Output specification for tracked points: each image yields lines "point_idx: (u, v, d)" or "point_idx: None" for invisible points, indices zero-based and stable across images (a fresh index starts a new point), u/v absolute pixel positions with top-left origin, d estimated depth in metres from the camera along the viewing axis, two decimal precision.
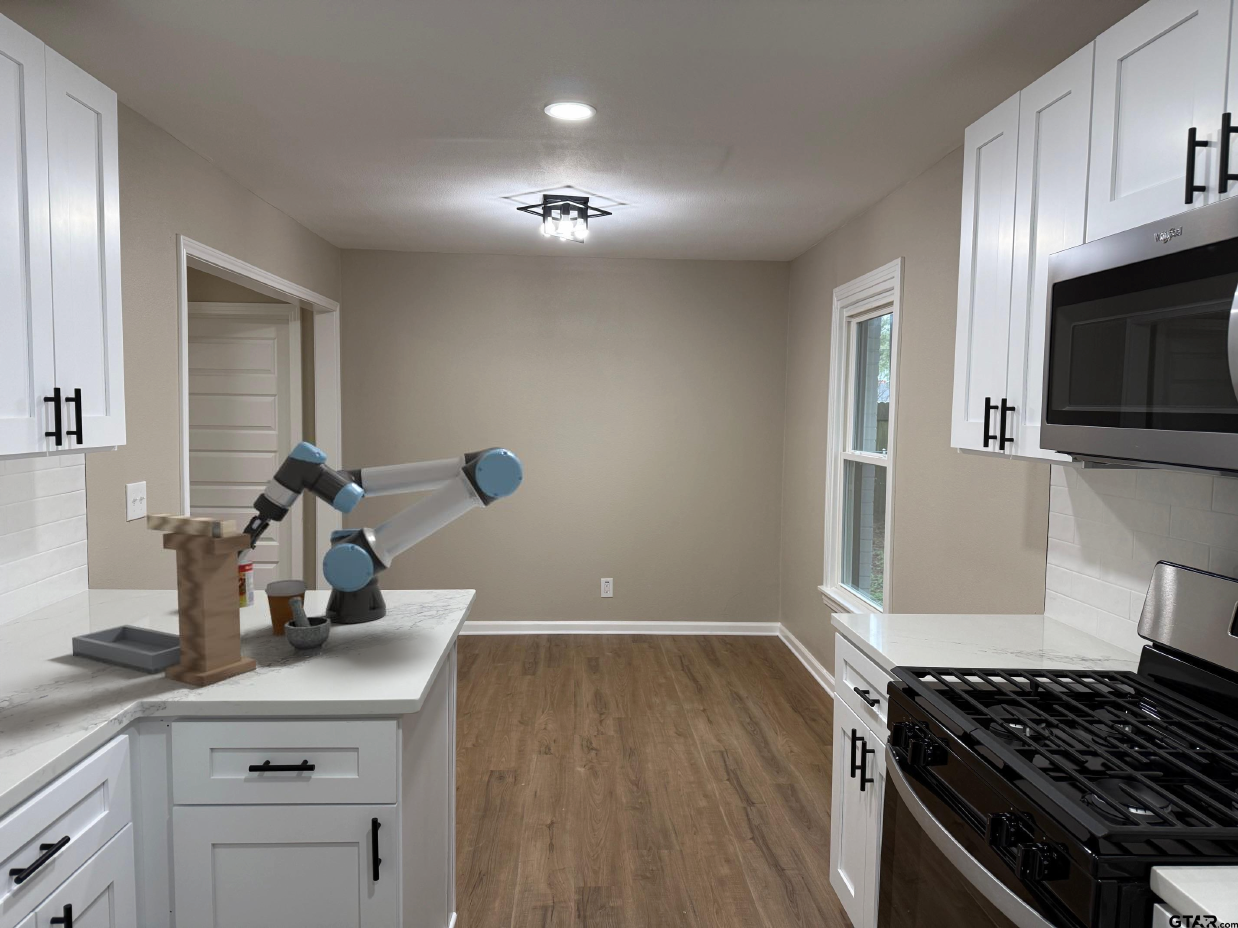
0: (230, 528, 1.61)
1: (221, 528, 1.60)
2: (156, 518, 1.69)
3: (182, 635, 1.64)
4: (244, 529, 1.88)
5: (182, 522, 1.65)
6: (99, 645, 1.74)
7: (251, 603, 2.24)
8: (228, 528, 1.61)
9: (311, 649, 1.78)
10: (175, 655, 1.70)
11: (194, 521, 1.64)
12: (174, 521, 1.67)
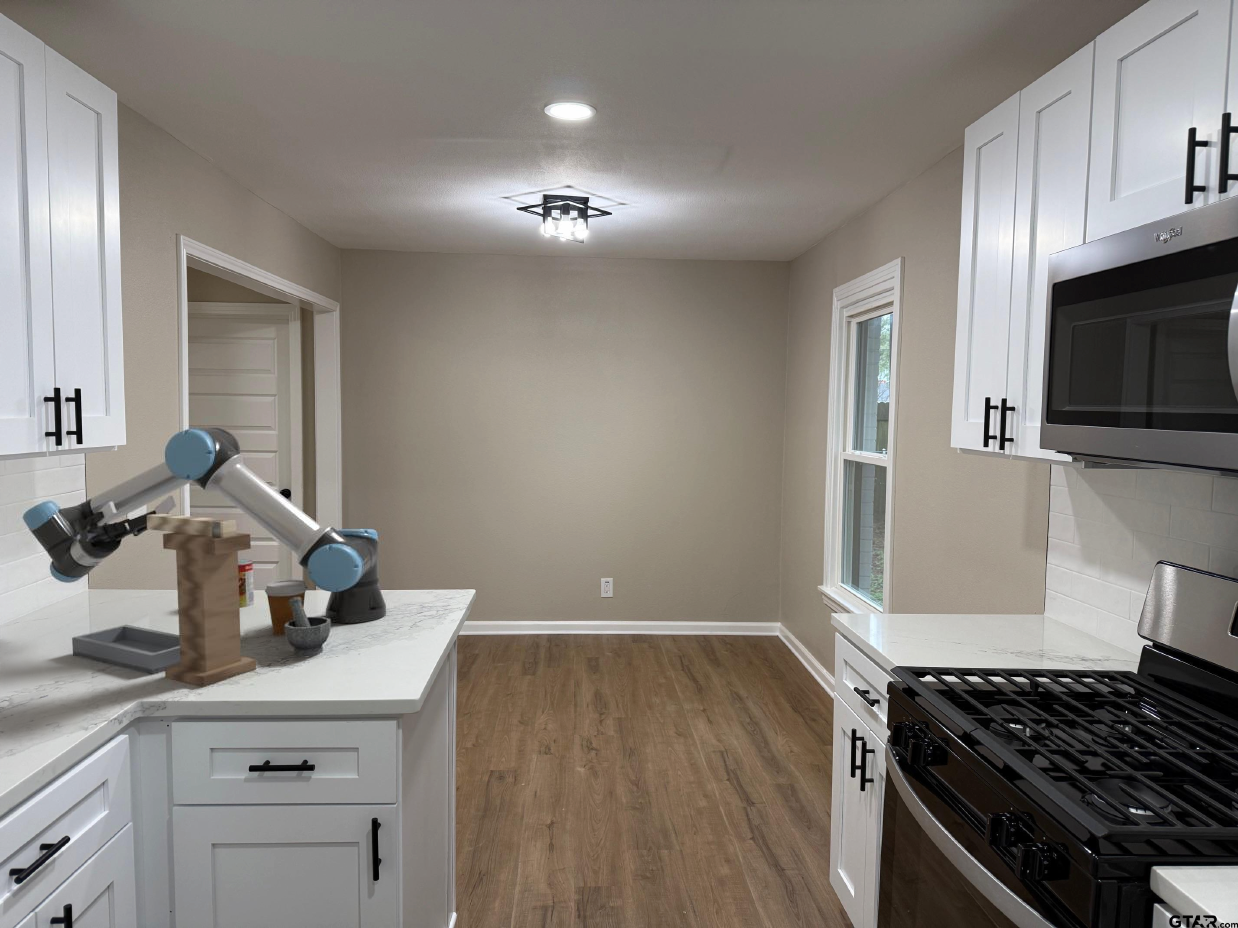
0: (230, 528, 1.61)
1: (221, 528, 1.60)
2: (156, 518, 1.69)
3: (182, 635, 1.64)
4: (100, 536, 1.82)
5: (182, 522, 1.65)
6: (99, 645, 1.74)
7: (251, 603, 2.24)
8: (228, 528, 1.61)
9: (311, 649, 1.78)
10: (175, 655, 1.70)
11: (194, 521, 1.64)
12: (174, 521, 1.67)
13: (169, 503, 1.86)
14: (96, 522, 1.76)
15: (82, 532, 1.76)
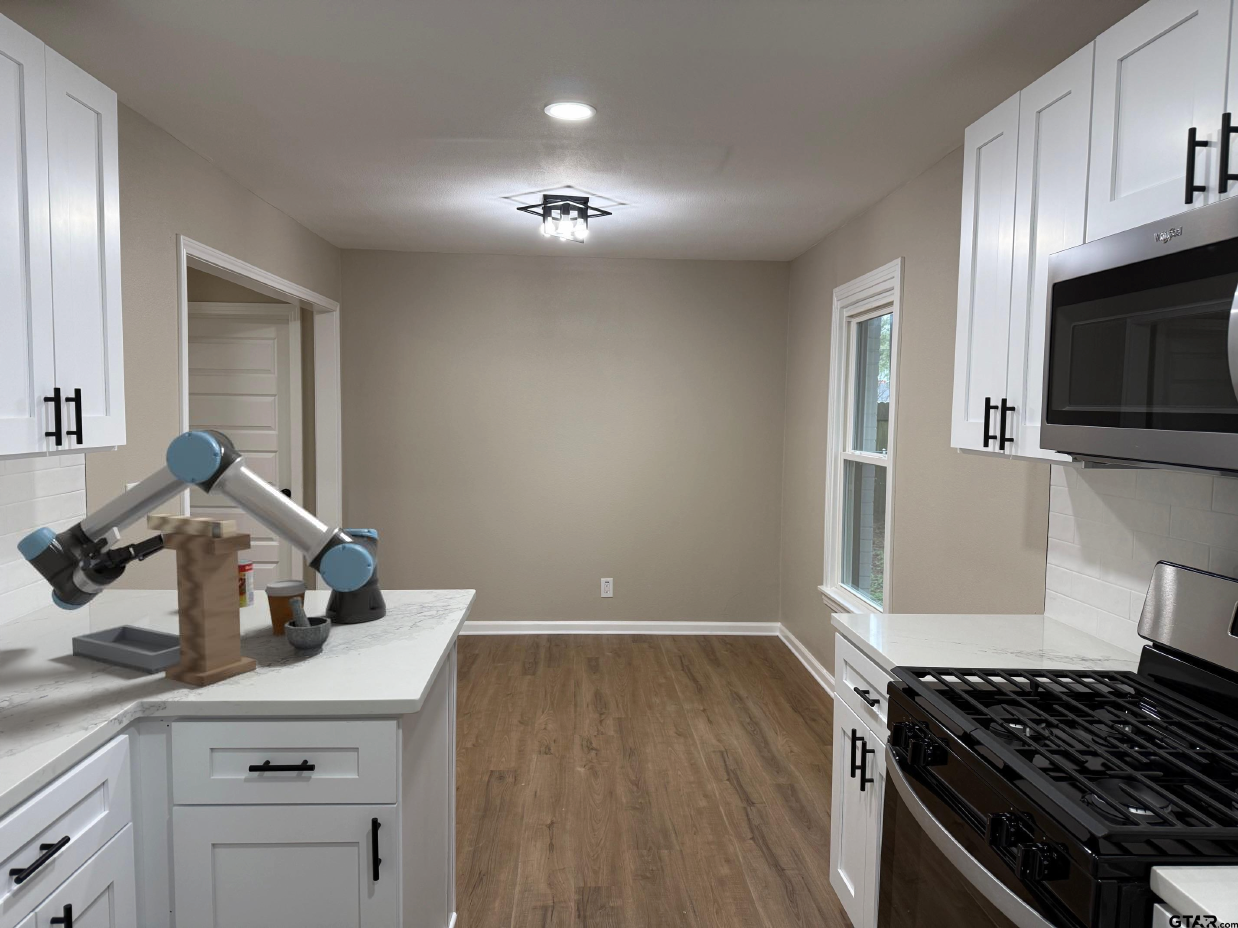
0: (230, 528, 1.61)
1: (221, 528, 1.60)
2: (156, 518, 1.69)
3: (182, 635, 1.64)
4: (104, 563, 1.74)
5: (182, 522, 1.65)
6: (99, 645, 1.74)
7: (251, 603, 2.24)
8: (228, 528, 1.61)
9: (311, 649, 1.78)
10: (175, 655, 1.70)
11: (194, 521, 1.64)
12: (174, 521, 1.67)
13: None
14: (99, 549, 1.68)
15: (85, 559, 1.68)
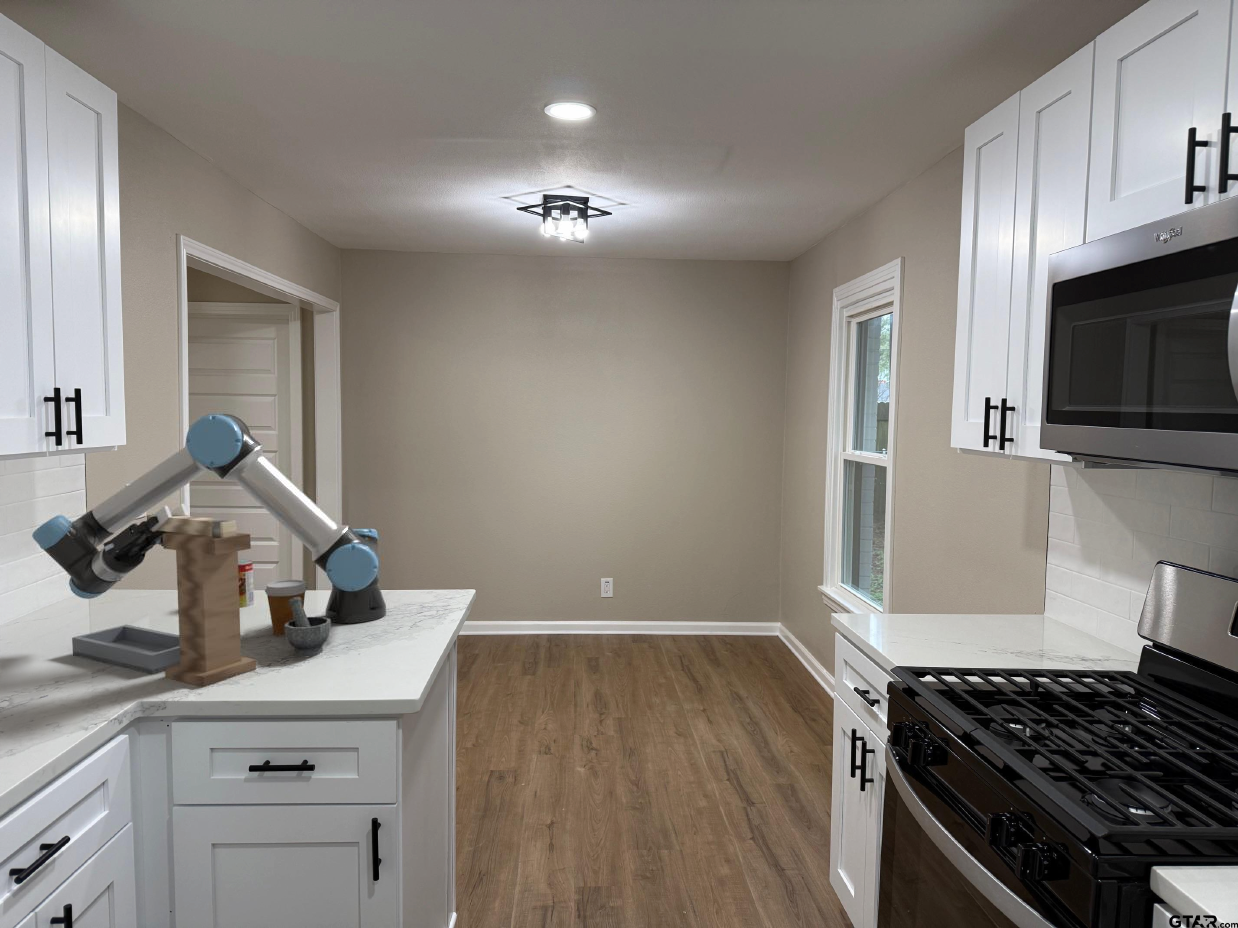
0: (230, 528, 1.61)
1: (221, 528, 1.60)
2: None
3: (182, 635, 1.64)
4: (134, 546, 1.72)
5: (182, 522, 1.65)
6: (99, 645, 1.74)
7: (251, 603, 2.24)
8: (228, 528, 1.61)
9: (311, 649, 1.78)
10: (175, 655, 1.70)
11: (194, 521, 1.64)
12: (174, 521, 1.67)
13: (181, 512, 1.70)
14: (150, 527, 1.68)
15: (131, 538, 1.68)
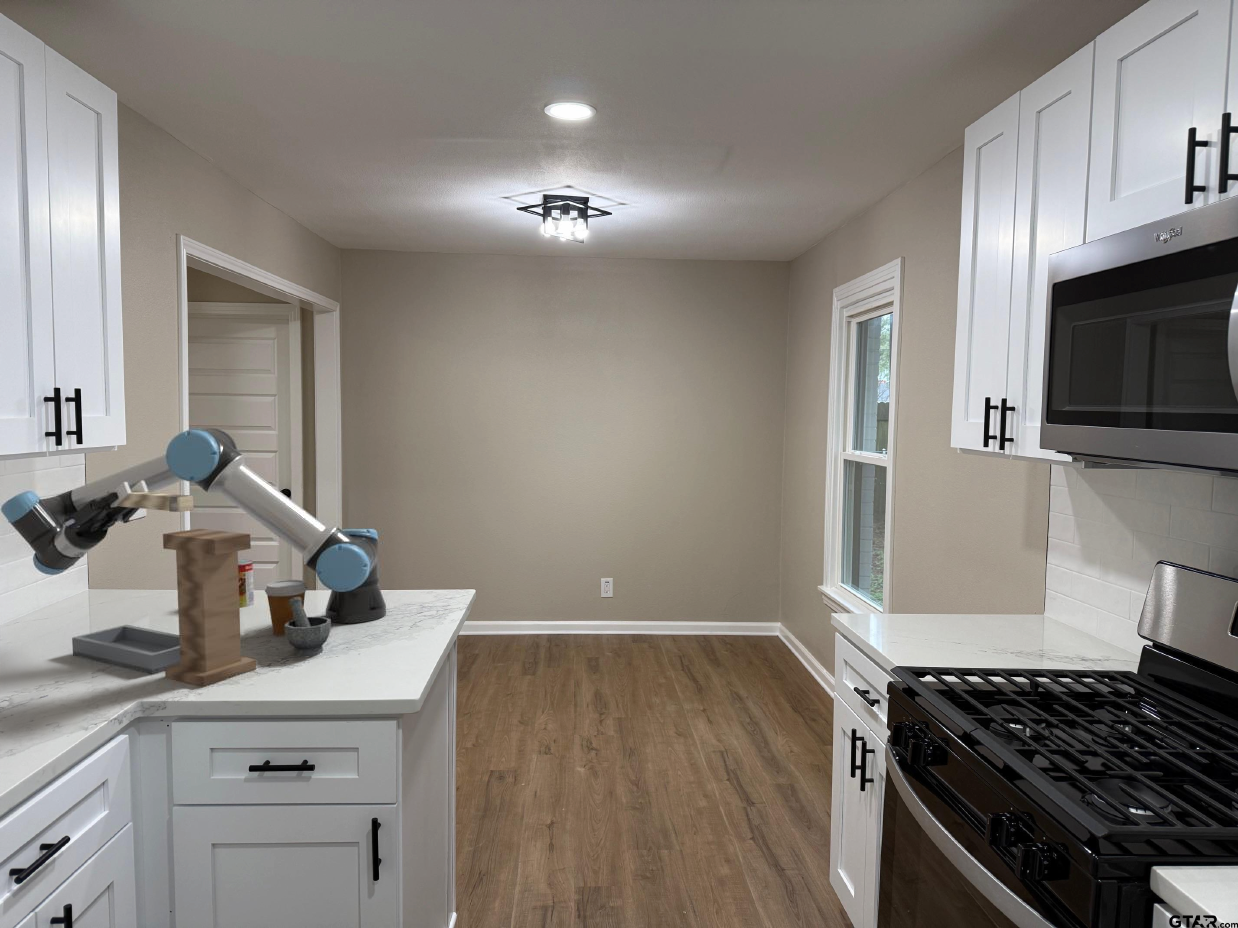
0: (187, 503, 1.66)
1: (178, 502, 1.65)
2: None
3: (182, 635, 1.64)
4: (95, 522, 1.76)
5: (141, 497, 1.70)
6: (99, 645, 1.74)
7: (251, 603, 2.24)
8: (185, 503, 1.66)
9: (311, 649, 1.78)
10: (175, 655, 1.70)
11: (152, 496, 1.68)
12: (133, 496, 1.71)
13: (141, 489, 1.74)
14: (110, 503, 1.73)
15: (91, 514, 1.72)
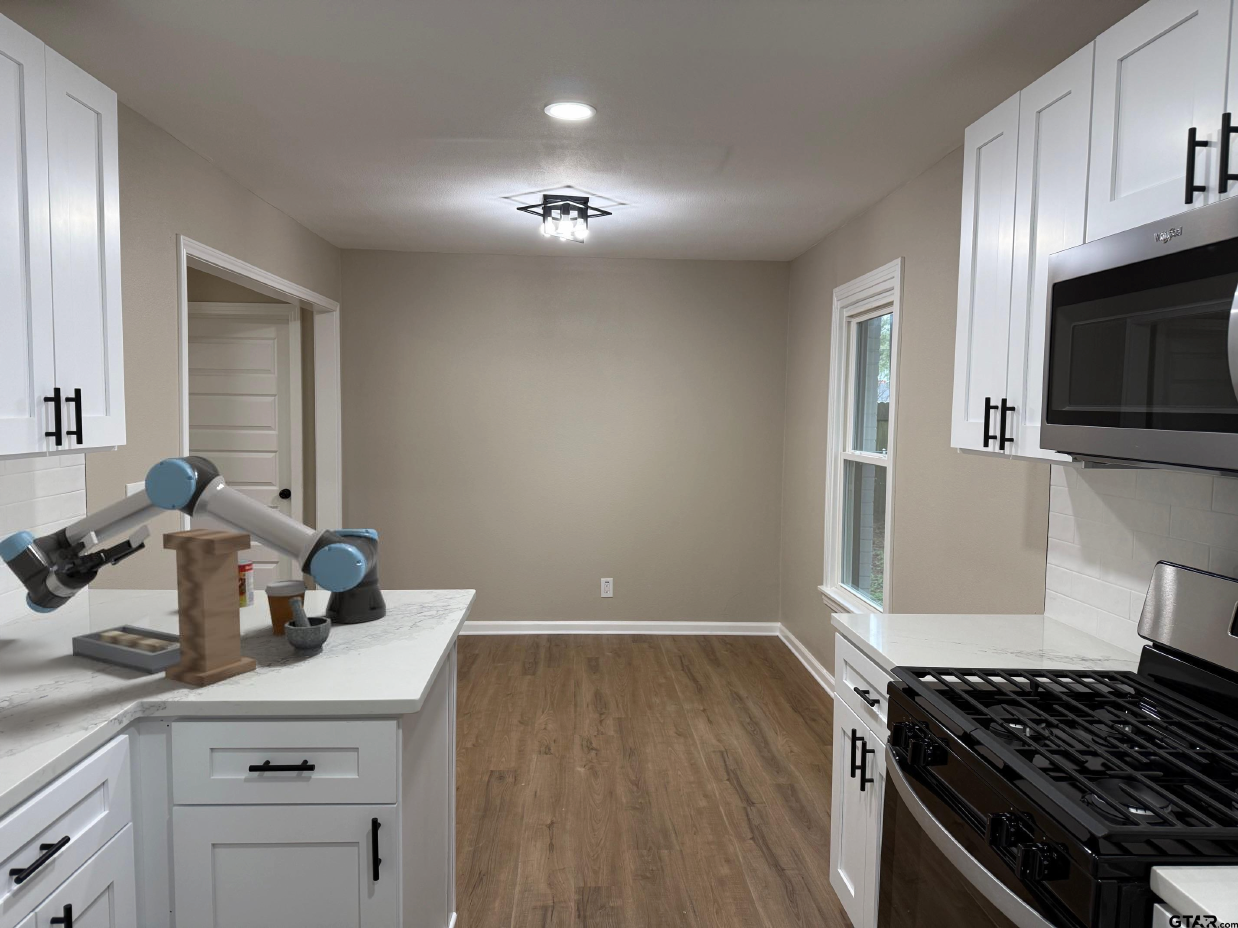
0: None
1: None
2: (107, 638, 1.80)
3: (182, 635, 1.64)
4: (78, 567, 1.80)
5: (131, 643, 1.76)
6: (99, 645, 1.74)
7: (251, 603, 2.24)
8: None
9: (311, 649, 1.78)
10: (175, 655, 1.70)
11: (142, 644, 1.74)
12: (124, 641, 1.77)
13: (143, 532, 1.83)
14: (77, 552, 1.74)
15: (62, 563, 1.74)
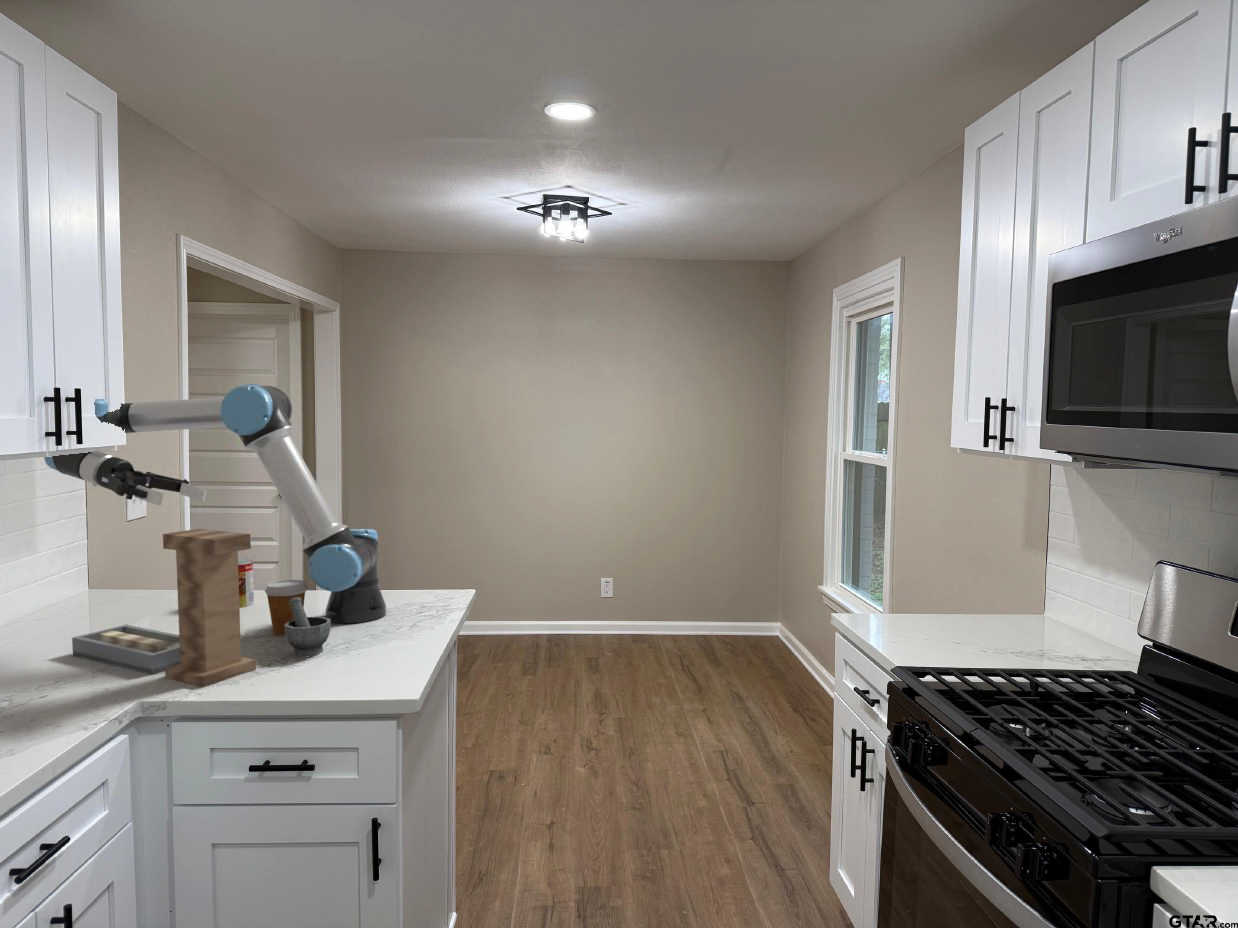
0: None
1: None
2: (107, 638, 1.80)
3: (182, 635, 1.64)
4: None
5: (131, 643, 1.76)
6: (99, 645, 1.74)
7: (251, 603, 2.24)
8: None
9: (311, 649, 1.78)
10: (175, 655, 1.70)
11: (142, 644, 1.74)
12: (124, 641, 1.77)
13: (200, 496, 1.92)
14: None
15: None
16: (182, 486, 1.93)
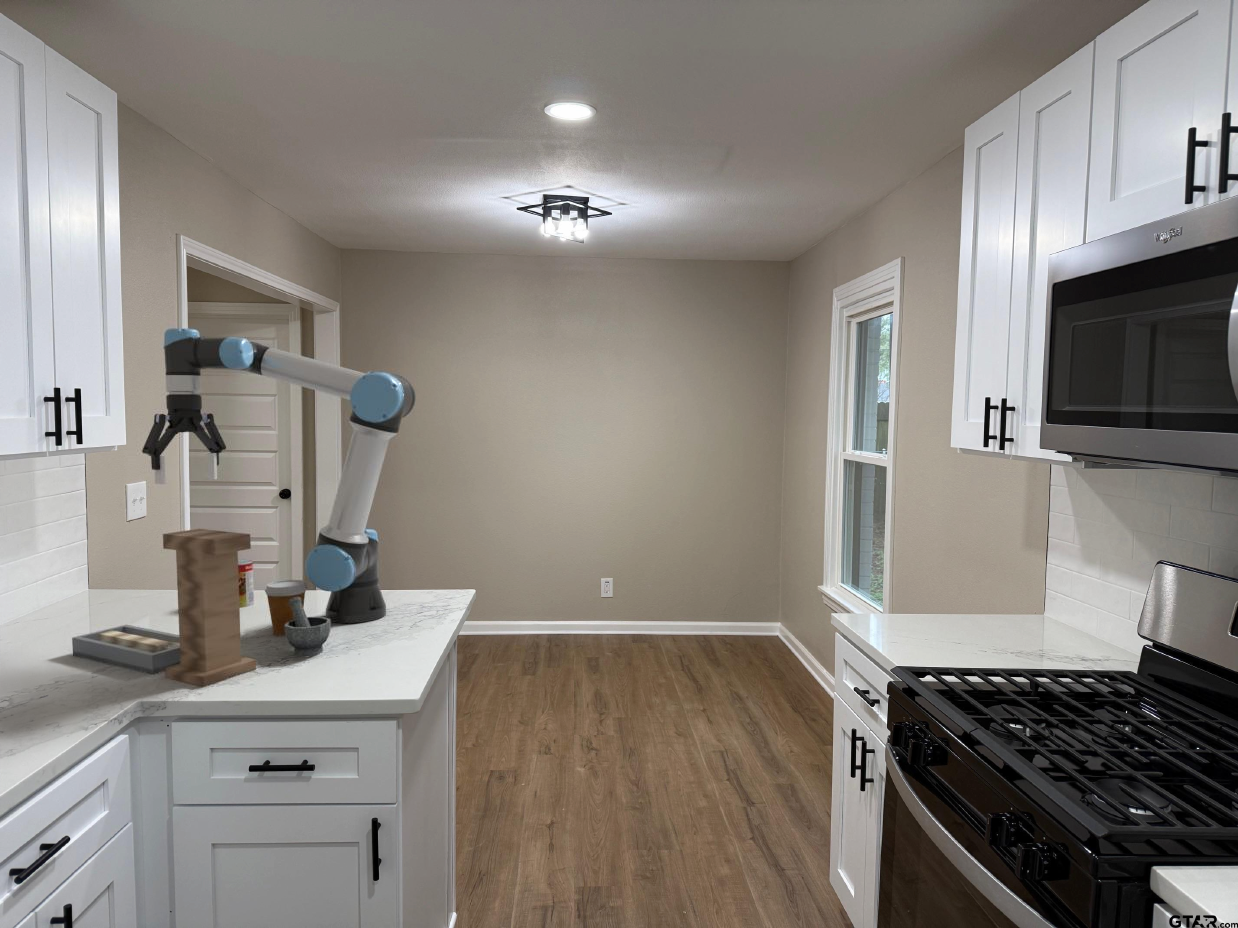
0: None
1: None
2: (107, 638, 1.80)
3: (182, 635, 1.64)
4: (165, 430, 1.92)
5: (131, 643, 1.76)
6: (99, 645, 1.74)
7: (251, 603, 2.24)
8: None
9: (311, 649, 1.78)
10: (175, 655, 1.70)
11: (142, 644, 1.74)
12: (124, 641, 1.77)
13: (210, 475, 2.02)
14: None
15: None
16: (211, 454, 2.01)
